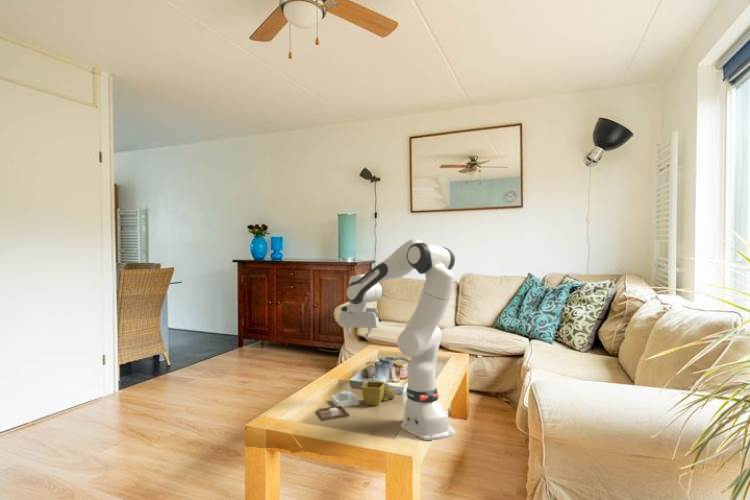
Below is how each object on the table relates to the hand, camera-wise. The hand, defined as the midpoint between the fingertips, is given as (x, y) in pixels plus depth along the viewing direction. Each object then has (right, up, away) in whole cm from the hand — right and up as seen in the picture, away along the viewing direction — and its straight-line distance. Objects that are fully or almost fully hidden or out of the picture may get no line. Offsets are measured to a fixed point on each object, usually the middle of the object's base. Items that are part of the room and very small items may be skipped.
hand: (358, 336), depth 193 cm
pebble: (-6, -28, -9) cm, 30 cm away
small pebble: (-9, -28, -26) cm, 39 cm away
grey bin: (-6, -29, -9) cm, 31 cm away
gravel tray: (-10, -29, -23) cm, 38 cm away
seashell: (+13, -29, -4) cm, 32 cm away
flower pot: (+7, -29, -10) cm, 32 cm away
